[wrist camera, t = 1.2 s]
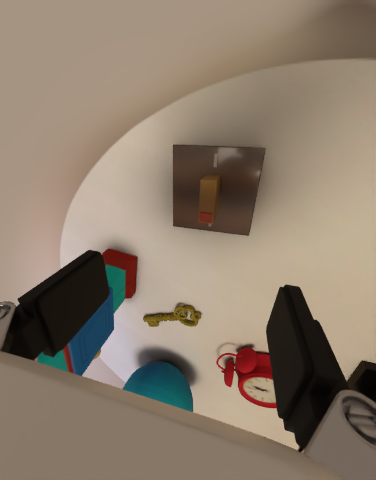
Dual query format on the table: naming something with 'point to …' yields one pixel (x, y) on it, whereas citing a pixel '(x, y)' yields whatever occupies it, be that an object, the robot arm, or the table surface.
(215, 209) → the thumbturn
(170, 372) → the decorative orb
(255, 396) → the alarm clock
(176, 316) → the key
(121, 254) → the toy robot
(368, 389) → the black handle mount
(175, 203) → the plate
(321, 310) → the table surface
